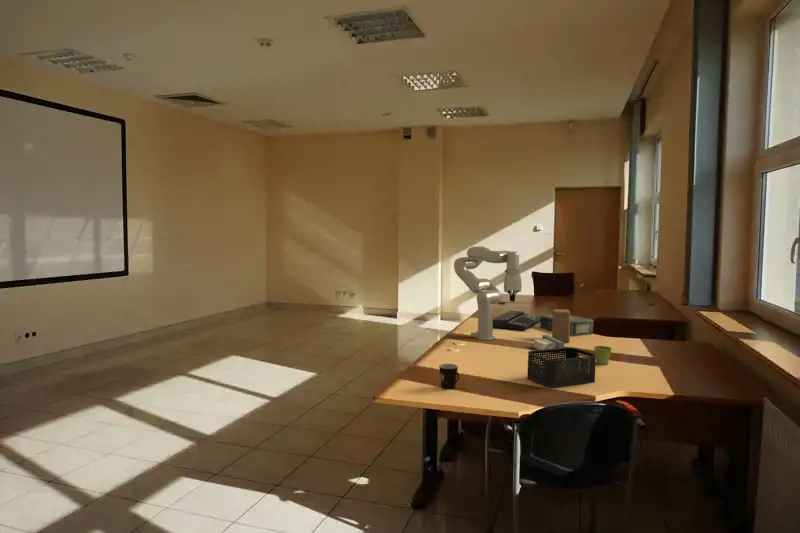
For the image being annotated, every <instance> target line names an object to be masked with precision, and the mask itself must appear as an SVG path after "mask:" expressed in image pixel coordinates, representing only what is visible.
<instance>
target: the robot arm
mask: <svg viewBox="0 0 800 533" xmlns="http://www.w3.org/2000/svg"><path fill="white" fill-rule="evenodd" d="M483 262H486V263H491V264H505V263H506V269H505V270H504V273H505V275H504V281H503V289H504V290H503V292H504V293H506V294H508V295H509V301H510V302H511V303H514V302H515V301H516V295H517V294H518V293H520V292H522V287H523V285H522V283H523V282H522V276H521V273H520V252H518V251H511V250H510V251H509V250H491V249H490V248H488V247H485V246H480V245H479V246H471V247H469V248H468V249H467V251H466V256H462V257H458V258H456V259H455V260H454V262H453V269H454V273H455V274H456V275H457V277H458V278H459V279H460V280H461V281H462V282H463V283H464V284H465V286H466V287H467V288H468V289H469V291H471V292H472V293H473V294H475V295H476V303H477V330H476V331H475V332H470V336H471V337H475V339H476V340H479V341H480V340H481V341H493V340H495V339H496V336H494V335H493V329H494V328H493V318H494V315H493V314H494V310H493V308H492V306H491V305H495V304H496V305H497V304H499V303H500V302H501V301H502V297H503V296H502V293H501V291H500V290H499V289H498V288H497V287H496V286H495V284H494V283H493V282H492V281H491V279H488V278H478V277H477V276H476V275H475V274H474V273H473V272H472V271H470V270H475V269H476V268H478V267H479V266H480V265H481V264H482V263H483Z"/></svg>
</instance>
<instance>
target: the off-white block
mask: <svg viewBox="0 0 800 533" xmlns="http://www.w3.org/2000/svg"><path fill="white" fill-rule="evenodd" d="M533 348H534V349H536V350H546V349H555V348H556V343H554V342H552V341H549V340H547V339H542V338H539V339H533ZM554 351H555V350H554Z"/></svg>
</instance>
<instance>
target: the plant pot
mask: <svg viewBox="0 0 800 533" xmlns="http://www.w3.org/2000/svg"><path fill="white" fill-rule="evenodd" d="M593 349H594V354H595V355H596V364H598V365H602V366H604V365H608V364H609V362H610V356H611V352H612V350H613V347H612V346H611V347H610V346H606V345H595V346H593Z"/></svg>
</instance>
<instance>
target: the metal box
mask: <svg viewBox="0 0 800 533" xmlns="http://www.w3.org/2000/svg"><path fill="white" fill-rule="evenodd" d="M539 317H540V318H541V322H540V323H539V324H540V329H542V330H545V331H550V332H552V321H553V313H547V314H543V315H542V314H540V315H539ZM594 322H595V321H594V319H592V318H588V317H587V318H586V317H582V316H578V315H571V314H570V337H573V336H574V337H576V336H577V335H578V336H584V335H585V334H587V335H592V334H593V331H594ZM588 333H589V334H588ZM578 336H577V337H578ZM585 336H586V335H585Z"/></svg>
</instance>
